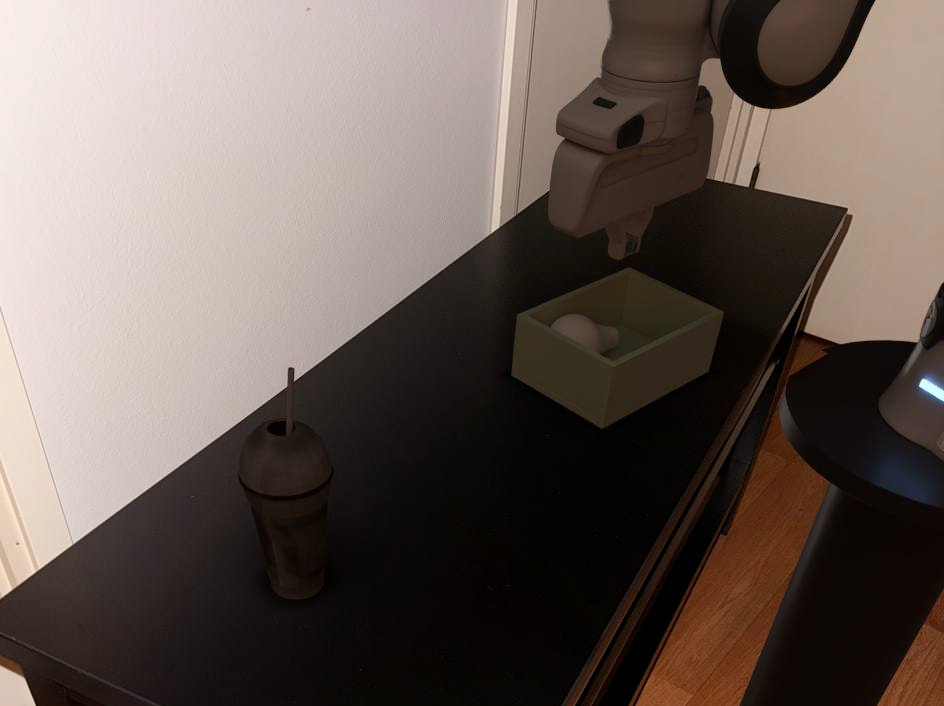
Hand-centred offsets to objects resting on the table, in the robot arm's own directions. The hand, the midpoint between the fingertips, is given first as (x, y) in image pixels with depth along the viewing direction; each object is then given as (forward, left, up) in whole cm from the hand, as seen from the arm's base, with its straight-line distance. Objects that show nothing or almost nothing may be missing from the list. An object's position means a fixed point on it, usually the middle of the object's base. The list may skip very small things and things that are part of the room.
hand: (622, 254), depth 95 cm
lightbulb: (-1, -7, -13) cm, 14 cm away
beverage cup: (+22, +40, -15) cm, 48 cm away
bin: (-1, -2, -15) cm, 15 cm away
